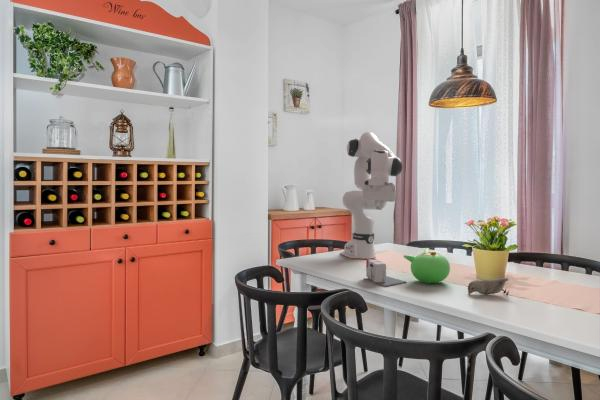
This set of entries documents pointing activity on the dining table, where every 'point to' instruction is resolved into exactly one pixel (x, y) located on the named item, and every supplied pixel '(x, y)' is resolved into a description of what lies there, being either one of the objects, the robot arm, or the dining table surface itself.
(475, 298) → the dining table surface
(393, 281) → the mat
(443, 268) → the green teapot
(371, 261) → the ink box
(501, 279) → the decorative bird
